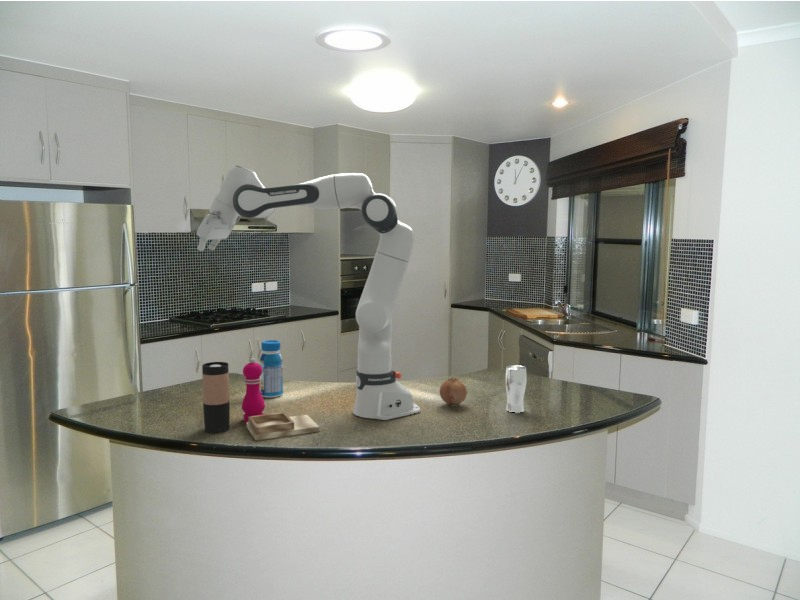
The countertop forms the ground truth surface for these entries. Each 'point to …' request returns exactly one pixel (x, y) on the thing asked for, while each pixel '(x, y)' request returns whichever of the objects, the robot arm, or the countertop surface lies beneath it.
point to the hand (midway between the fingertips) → (205, 249)
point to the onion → (453, 391)
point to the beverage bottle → (271, 369)
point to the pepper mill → (252, 390)
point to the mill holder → (280, 425)
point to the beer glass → (515, 387)
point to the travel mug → (216, 396)
